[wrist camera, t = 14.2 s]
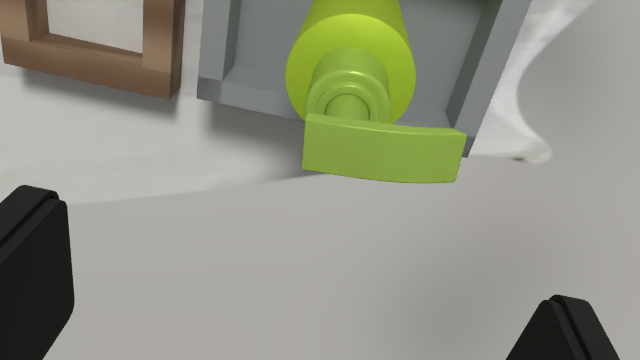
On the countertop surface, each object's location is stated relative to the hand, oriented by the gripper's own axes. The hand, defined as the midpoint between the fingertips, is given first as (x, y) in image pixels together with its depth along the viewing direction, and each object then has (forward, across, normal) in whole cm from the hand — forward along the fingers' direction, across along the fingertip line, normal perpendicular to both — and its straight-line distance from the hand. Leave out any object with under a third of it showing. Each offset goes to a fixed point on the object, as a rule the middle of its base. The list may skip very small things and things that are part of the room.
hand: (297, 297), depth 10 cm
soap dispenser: (+28, -2, 0) cm, 28 cm away
